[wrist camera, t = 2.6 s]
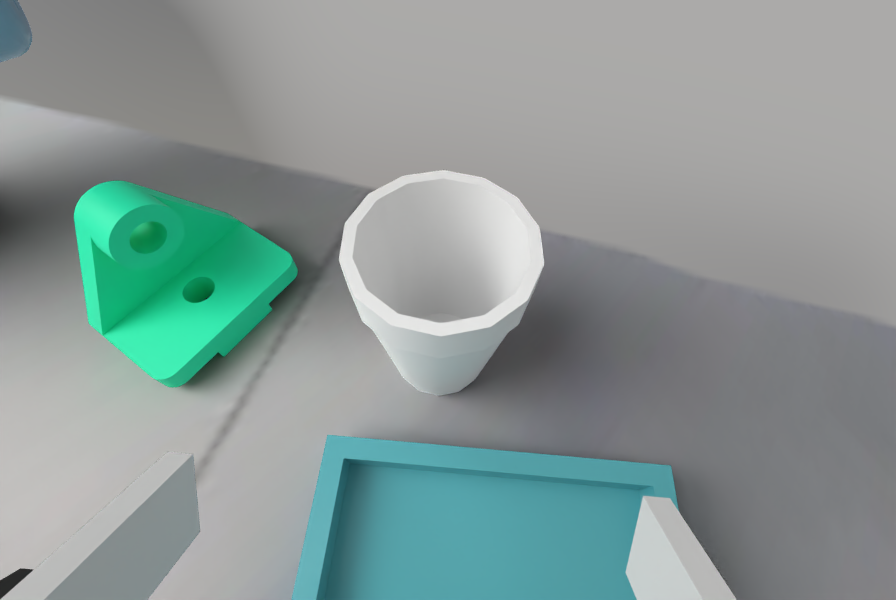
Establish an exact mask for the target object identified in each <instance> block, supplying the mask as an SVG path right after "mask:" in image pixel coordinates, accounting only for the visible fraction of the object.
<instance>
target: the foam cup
mask: <svg viewBox="0 0 896 600" xmlns="http://www.w3.org/2000/svg"><path fill="white" fill-rule="evenodd" d="M339 262H340V265H341V268H342V271H343V274H344V277H345V280H346V283H347V286H348V288H349V291H350V293H351V296H352V298H353V300H354V303H355V305H356V308H357V310H358V312H359V315H360V317H361V320H362V322H363V323H365V324H366V325H367V326H368V327H370V328H371V329H372V330H373V331H374V333H375V335H376V336H377V338H378V339H379V341H380V342H381V344H382V345H383V347H384V349H385V350H386V352H387V353H388V355H389V356H390V358H391V360H392V361H393V363H394V364H395V366H396V367H397V369H398V370H399V372H400V374H401V375H402V377H404V379H405V380H406V381H407V382H409V383H410V384H411V385H412V386H414V387H415V388H416V389H417V390H418V391H421V392H425V393H429V394H433V395H437V396H441V395H446V394H451V393H456V392H459V391H461V390H462V389H463V388H465V387H466V386H467V385H469V384H470V383H471V382H472V381H474V380H475V378H477V376H478V375H479V373H480V372H481V370H482V369H483V368H484V366H485V365H486V363H487V362H488V360H489V359H490V358H491V356H492V355H493V353H494V352H495V350H496V349H497V348H498V346H499V345H500V343H501V342H502V340H503V339H504V338H505V336H506V335H507V333H508V332H509V331H511V330H512V329H514V328H515V327H516V326H518V325H519V323H520V321H521V318H522V316H523V314H524V312H525V310H526V307H527V305H528V303H529V301H530V299H531V296H532V294H533V292H534V290H535V287H536V285H537V282H538V279H539V277H540V274H541V272H542V269H543V266H544V257H543V249H542V241H541V234H540V227H539V226H538V225H537V223H536V222H535V221H534V219H533V218H532V216H531V215H530V214H529V212H528V211H527V210H526V208H525V207H524V205H523V204H522V203H521V201H520V200H519V199H518V198H517V197H516V196H514V195H513V194H511V193H509V192H508V191H506V190H504V189H502V188H501V187H499V186H497V185H496V184H494V183H492V182H490V181H489V180H487V179H485V178H483V177H478V176H473V175H467V174H462V173H457V172H451V171H446V170H441V171H434V172H426V173H419V174H411V175H404V176H401V177H400V178H398V179H396V180H394V181H392V182H390V183H388V184H386V185H384V186H382V187H380V188H379V189H377V190H375V191H373V192H371V193H369V194H368V195H367V196H366V197H365V199H364V200H363V201H362V202H361V204H360V205H359V206H358V207H357V209H356V210H355V211H354V212H353V214H352V215H351V216H350V217H349V219H348V220H347V221H346V222H345V225H344V231H343V237H342V243H341V249H340V255H339Z"/></svg>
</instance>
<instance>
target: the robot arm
mask: <svg viewBox="0 0 896 600" xmlns="http://www.w3.org/2000/svg"><path fill="white" fill-rule="evenodd" d="M31 42H32V32H31V28H30V25H29V23H28V20H27V18H26V16H25V14H24V12H23V10H22V8H21V6H20V4H19V2H18V0H0V62H3V61H6V60H9V59H12V58H16V57H19V56H21V55H23V54H24V53H25V52H27V51H28V49H29V47H30V45H31ZM199 532H200V524H199V512H198V501H197V490H196V479H195V468H194V457H193V454H188V453H178V452H167V453H165V454H164V455H163V456H162V457H161V458H160V459H159V460H158V461H156V462H155V463H154V464H153V465H152V466H151V467H150V468H148V469H147V470H146V471H145V472H144V473H143V474H142V475H141V476H139V477H138V478H137V479H136V480H135V481H134V482H133V483H131V484H130V485H129V486H128V487H127V488H126V489H125V490H124V491H122V492H121V493H120V494H119V495H118V496H117V497H116V498H114V499H113V500H112V501H111V502H110V503H109V504H108V505H107V506H105V507H104V508H103V509H102V510H101V511H100V512H99V513H98V514H96V515H95V516H94V517H93V518H92V519H91V520H90V521H88V522H87V523H86V524H85V525H84V526H83V527H82V528H81V529H79V530H78V531H77V532H76V533H75V534H74V535H73V536H71V537H70V538H69V539H68V540H67V541H66V542H65V543H64V544H62V545H61V546H60V547H59V548H58V549H57V550H56V551H55V552H53V553H52V554H51V555H50V556H49V557H48V558H47V559H45V560H44V561H43V562H42V563H41V564H40V565H39V566H38V567H36V568H35V569H34V570H32V569H19V570H17V571H15V572H14V573H12V574H10V575H9V576H7V577H5V578H4V579H2V580H0V600H147V599H148V598H149V597H150V596H151V594H152V593H153V592H154V590H155V589H156V588H157V587H158V585H159V584H160V583H161V581H162V580H163V579H164V577H165V576H166V575H167V574H168V572H169V571H170V570H171V568H172V567H173V566H174V565H175V563H176V562H177V561H178V559H179V558H180V557H181V556H182V554H183V553H184V552H185V550H186V549H187V548H188V546H189V545H190V544H191V543H192V541H193V540H194V539H195V537H196V536H197V535H198V534H199ZM626 575H627V577H628V580H629V582H630V584H631V587H632V589H633V592H634V594H635V596H636V599H637V600H737V599H736V598H735V596H734V595H733V593H732V592H731V590H730V589H729V587H728V586H727V584H726V583H725V581H724V580H723V578H722V577H721V575H720V574H719V572H718V571H717V569H716V567H715V566H714V564H713V563H712V561H711V560H710V558H709V557H708V555H707V554H706V552H705V551H704V549H703V548H702V546H701V545H700V543H699V542H698V540H697V539H696V537H695V536H694V534H693V532H692V531H691V529H690V528H689V526H688V525H687V523H686V522H685V520H684V519H683V517H682V516H681V514H680V513H679V511H678V510H677V508H676V507H675V505H674V504H673V502H672V501H671V499H670V498H663V497H652V496H643V498H642V503H641V507H640V511H639V516H638V520H637V524H636V529H635V533H634V537H633V542H632V546H631V551H630V555H629V559H628V564H627V568H626Z"/></svg>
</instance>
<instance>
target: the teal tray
mask: <svg viewBox="0 0 896 600" xmlns="http://www.w3.org/2000/svg"><path fill="white" fill-rule="evenodd" d="M643 496H652V497H663V498H670V499H671V501H672V502H673V504H674V505H675V507H676V508H677V510H678V511H679V509H678V504H677V498H676V492H675V486H674V480H673V474H672V469H671V465H660V464H648V463H637V462H626V461H615V460H604V459H592V458H581V457H570V456H559V455H548V454H537V453H525V452H514V451H503V450H492V449H481V448H469V447H458V446H447V445H436V444H425V443H414V442H402V441H391V440H380V439H369V438H358V437H346V436H335V435H327V439H326V444H325V449H324V453H323V458H322V462H321V467H320V471H319V476H318V481H317V485H316V490H315V494H314V499H313V504H312V508H311V513H310V517H309V522H308V526H307V531H306V536H305V540H304V545H303V549H302V554H301V559H300V563H299V568H298V572H297V577H296V581H295V586H294V591H293V595H292V600H637V599H636V596H635V594H634V592H633V589H632V587H631V584H630V582H629V580H628V577H627V575H626V568H627V564H628V559H629V555H630V551H631V546H632V542H633V537H634V533H635V529H636V524H637V520H638V516H639V511H640V507H641V503H642V498H643Z"/></svg>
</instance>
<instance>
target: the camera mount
mask: <svg viewBox="0 0 896 600" xmlns="http://www.w3.org/2000/svg"><path fill="white" fill-rule="evenodd" d="M74 223H75V230H76V237H77V244H78V251H79V258H80V265H81V272H82V280H83V287H84V294H85V301H86V308H87V315H88V322H89V324H90V325H91V326H92V327H93V328H94V329H95V330H97V331H98V332H99V333H100V334H101V335H103V336H104V337H105V338H106V339H107V340H108V341H110V342H111V343H112V344H113V345H114V346H115V347H117V348H118V349H119V350H120V351H121V352H123V353H124V354H125V355H126V356H127V357H128V358H130V359H131V360H132V361H133V362H134V363H135V364H137V365H138V366H139V367H140V368H141V369H142V370H144V371H145V372H146V373H147V374H148V375H150V376H151V377H152V378H154V379H155V380H157V381H159V382H160V383H162V384H164V385H166V386H168V387H178V386H181V385H183V384H185V383H186V382H187V381H189V380H190V379H191V378H192V377H193V376H194V375H195V374H196V373H197V372H198V371H199V370H200V369H201V368H202V367H203V366H204V365H205V364H206V363H207V362H208V361H209V360H211V359H212V358H213V357H214V356H215V355H216V354H217V353H219V354H221V355H222V356H223V357H225V356H226V355H227V354H228V353H229V352H230V351H231V350H232V349H233V348H234V347H235V346H236V345H237V344H238V343H239V342H240V341H241V340H242V339H243V338H244V337H245V336H246V335H247V334H248V333H249V332H250V331H251V330H252V329H253V328H254V327H255V326H256V325H257V324H258V323H260V322H261V321H262V320H263V319H264V318H265V317H266V316H267V315H268V314H269V313H270V312H271V311H272V308H271V307H270V305H269V303H270V302H271V301H272V300H273V299H274V298H275V297H276V296H277V295H278V294H279V293H281V292H282V291H283V290H284V289H285V288H286V287H287V286H288V285H289V284H290V283H291V282H292V281H293V280H294V279H295V278H296V276H297V273H298V269H297V267H296V265H295V263H294V261H293V259H292V257H291V255H290V254H289V253H288V252H287V251H285V250H284V249H282V248H281V247H279V246H277V245H276V244H274V243H273V242H271V241H270V240H268V239H267V238H265V237H264V236H262V235H260V234H259V233H257V232H256V231H254V230H253V229H251V228H250V227H248V226H246V225H245V224H243V223H242V222H240V221H239V220H237V219H236V218H234V217H233V216H231V215H229V214H228V213H225V212H222V211H218V210H215V209H212V208H209V207H206V206H203V205H199V204H196V203H193V202H190V201H187V200H184V199H181V198H177V197H174V196H171V195H168V194H165V193H162V192H158V191H155V190H152V189H149V188H146V187H143V186H139V185H136V184H133V183H130V182H126V181H108V182H104V183H101V184H98V185H96V186H94V187H92V188H91V189H89V190H88V191H87V192H86V193H85V194H84V195H83V196H82V197H81V198H80V199H79V201H78V203H77V205H76V207H75V211H74ZM208 296H210V297H209V298H208V299H206V300H204V299H205V298H207V297H208ZM203 300H204V301H203Z"/></svg>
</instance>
